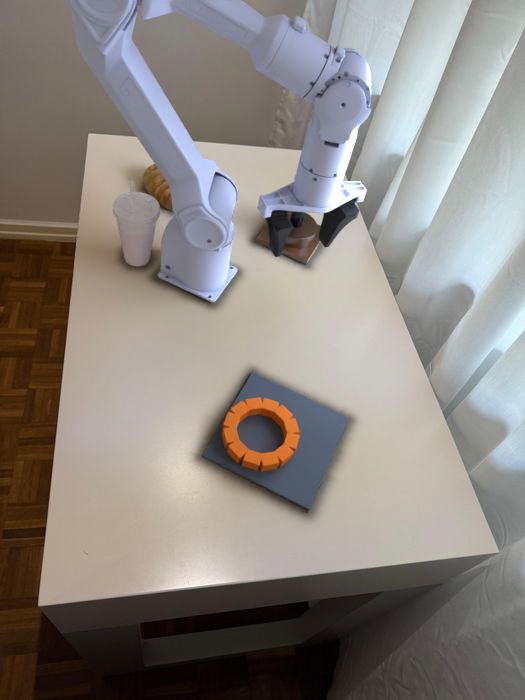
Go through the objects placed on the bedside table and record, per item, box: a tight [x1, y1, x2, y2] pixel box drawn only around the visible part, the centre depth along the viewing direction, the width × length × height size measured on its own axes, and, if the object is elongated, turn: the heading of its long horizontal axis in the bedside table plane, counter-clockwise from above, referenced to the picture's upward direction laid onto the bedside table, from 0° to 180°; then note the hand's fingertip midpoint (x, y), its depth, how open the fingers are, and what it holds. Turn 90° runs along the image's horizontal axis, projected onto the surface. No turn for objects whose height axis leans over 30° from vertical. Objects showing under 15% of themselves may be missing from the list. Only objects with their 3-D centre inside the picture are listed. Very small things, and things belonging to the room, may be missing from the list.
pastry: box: [142, 163, 173, 212], centre depth 94 cm, size 9×7×4 cm
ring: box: [222, 397, 300, 471], centre depth 70 cm, size 9×9×2 cm
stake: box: [255, 211, 321, 265], centre depth 91 cm, size 9×9×8 cm
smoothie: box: [112, 177, 161, 267], centre depth 80 cm, size 6×6×14 cm
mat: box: [202, 371, 350, 511], centre depth 71 cm, size 14×14×1 cm
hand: (299, 247), depth 79 cm, fingers open, 7 cm apart
